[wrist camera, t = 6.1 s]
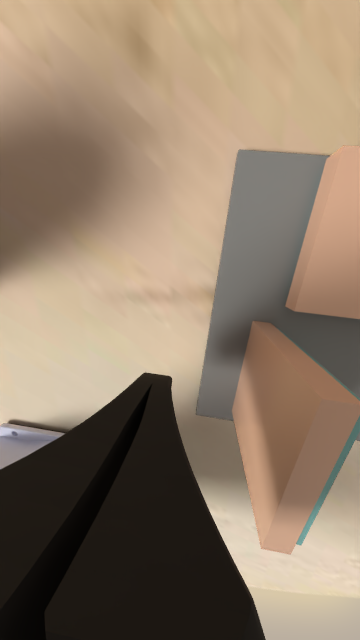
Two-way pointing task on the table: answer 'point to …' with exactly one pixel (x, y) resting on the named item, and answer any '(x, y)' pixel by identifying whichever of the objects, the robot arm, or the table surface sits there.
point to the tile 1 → (290, 434)
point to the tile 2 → (332, 243)
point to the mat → (269, 277)
